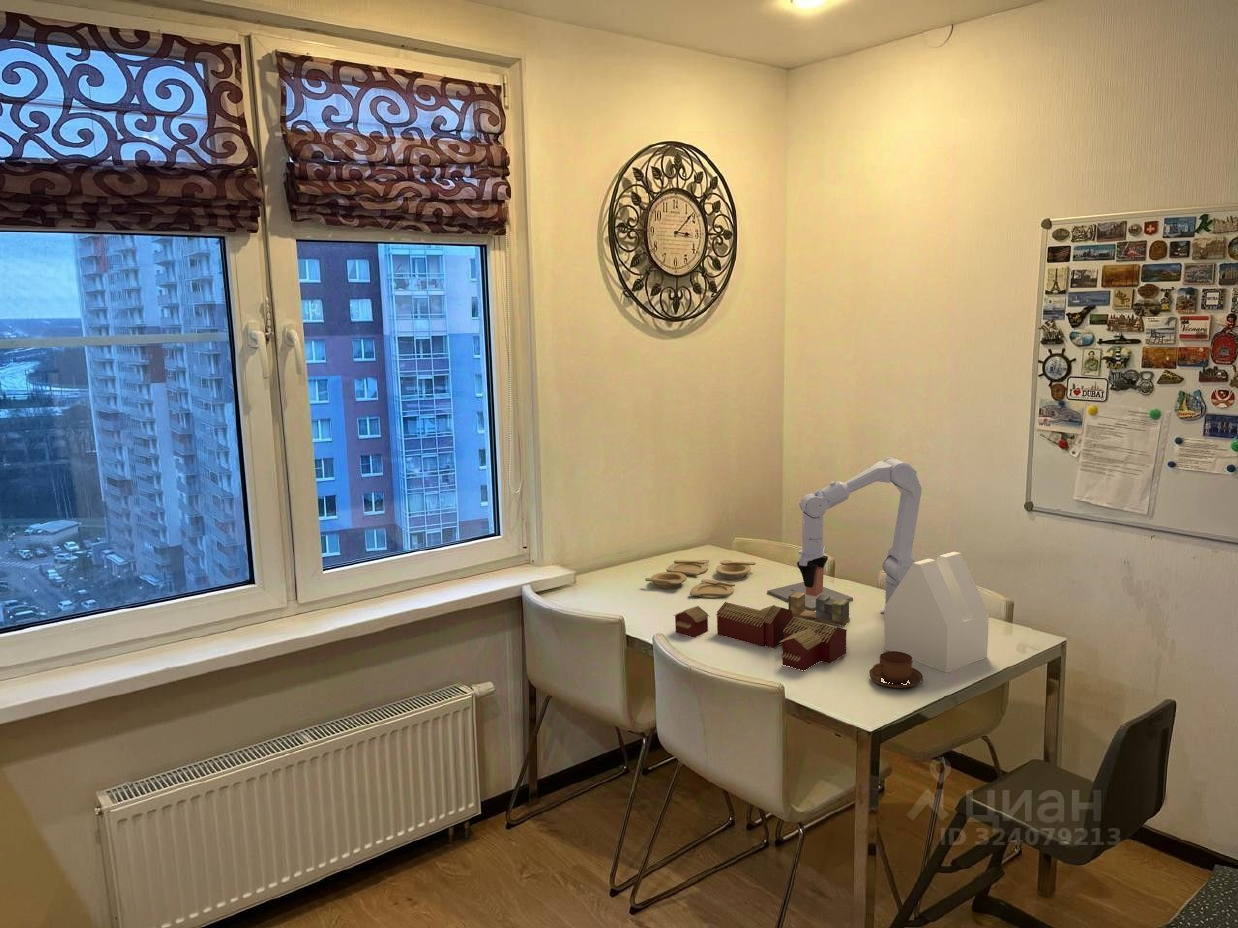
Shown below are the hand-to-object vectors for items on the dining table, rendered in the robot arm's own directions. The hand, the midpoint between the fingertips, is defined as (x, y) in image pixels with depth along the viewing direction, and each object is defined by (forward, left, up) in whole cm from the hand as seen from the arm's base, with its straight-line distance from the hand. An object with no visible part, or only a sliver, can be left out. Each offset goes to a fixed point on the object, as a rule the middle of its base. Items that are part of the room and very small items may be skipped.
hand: (812, 583), depth 255 cm
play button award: (+7, -16, -11) cm, 21 cm away
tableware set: (+45, -15, -11) cm, 48 cm away
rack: (-1, 0, -10) cm, 10 cm away
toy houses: (+6, +24, -10) cm, 27 cm away
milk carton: (-36, +9, -10) cm, 39 cm away
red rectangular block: (-1, 0, -3) cm, 3 cm away
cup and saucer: (-33, +30, -10) cm, 46 cm away
